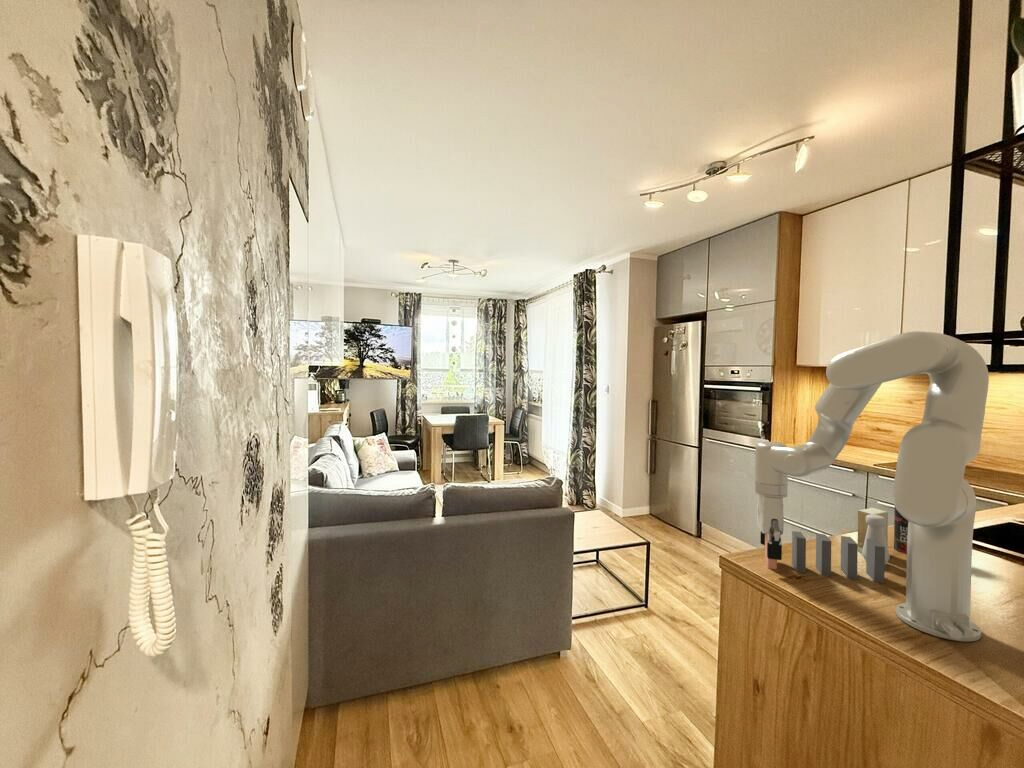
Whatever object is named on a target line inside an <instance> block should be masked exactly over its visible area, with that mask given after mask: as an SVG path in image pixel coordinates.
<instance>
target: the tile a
mask: <svg viewBox="0 0 1024 768" xmlns="http://www.w3.org/2000/svg"><path fill="white" fill-rule="evenodd" d="M806 554H807V538H806V536H805V535H804V534H803V532H801V531H797V530H796V531H795V530H794V531H793V530H792V531H791V565H792V566H793V569H794V570H795V572H796V573H802V574H806V570H807V569H806V568H807V567H806V565H807V560H806V559H807V558H806V557H807V555H806Z"/></svg>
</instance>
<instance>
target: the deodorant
mask: <svg viewBox="0 0 1024 768" xmlns="http://www.w3.org/2000/svg"><path fill="white" fill-rule="evenodd" d="M893 515H894V518H893V519H894V523H893V525H894V526H893V550H895V551H897V552H898V553H902V554H906V555H907V535H908V522H909V521H908V520H906V519H905V518H904V517H903V516H902V515H901V514H900V513H899V512H898V510H897V509H896V507H895V506H894V514H893Z"/></svg>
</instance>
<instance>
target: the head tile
mask: <svg viewBox="0 0 1024 768" xmlns="http://www.w3.org/2000/svg"><path fill="white" fill-rule="evenodd" d="M772 532H774V531H772ZM772 536H774V535H771V539H772ZM767 543H769V541H768V533H765V545H764V562H765V564H766V566H767V569H770V570H777V569H778V566H777V565H778V562H777V561H778V560H775V559H768V557H767Z"/></svg>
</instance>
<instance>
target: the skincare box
mask: <svg viewBox="0 0 1024 768" xmlns="http://www.w3.org/2000/svg"><path fill="white" fill-rule="evenodd" d="M870 514H874V515H879V516H882V517H884V518H885V519H886V525H885V526H883V528H884V532H885V537H886V542H887V546H888V547H889V545H888V544H889V543H888V542H889V531H888V530H889V528H888V527H889V520H888V519H889V512H888V511H886V510H883V509H878V508H875V507H867V508H862V509H857V544H858V552H859V553H861V554H862V549H863V546H864V541H865V537H866V533H867V528H868V524H867V523H866V516H867V515H870Z"/></svg>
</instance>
